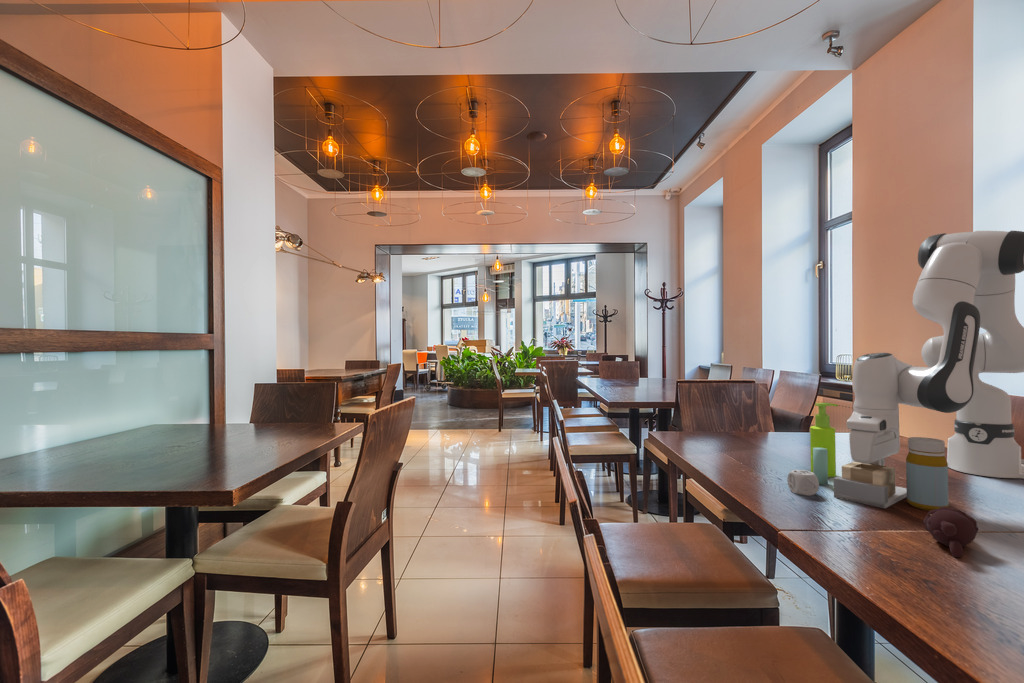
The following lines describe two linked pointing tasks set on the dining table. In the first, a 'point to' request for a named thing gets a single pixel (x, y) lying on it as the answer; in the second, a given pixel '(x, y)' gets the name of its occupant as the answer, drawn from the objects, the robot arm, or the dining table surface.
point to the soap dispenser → (824, 437)
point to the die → (803, 482)
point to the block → (871, 474)
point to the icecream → (951, 528)
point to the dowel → (820, 465)
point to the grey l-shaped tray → (867, 492)
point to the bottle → (927, 473)
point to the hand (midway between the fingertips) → (877, 476)
